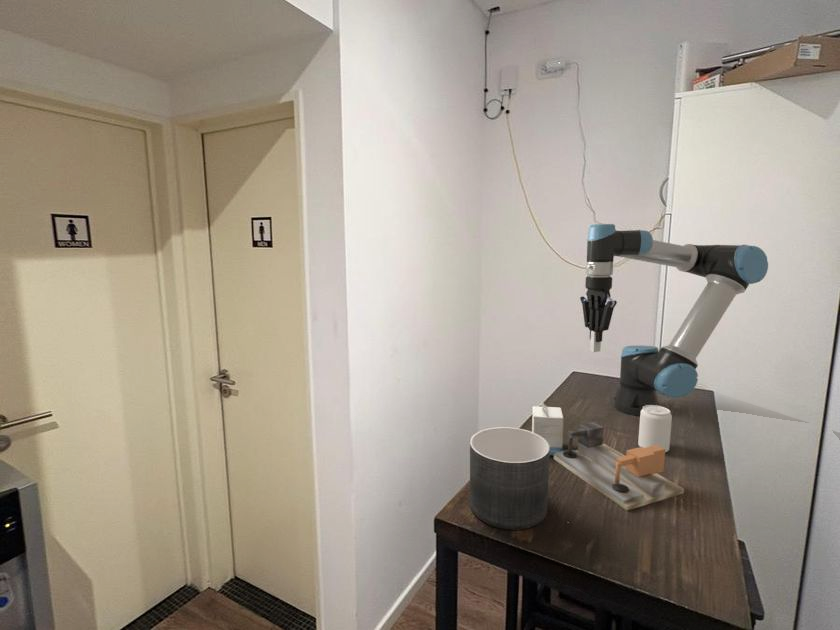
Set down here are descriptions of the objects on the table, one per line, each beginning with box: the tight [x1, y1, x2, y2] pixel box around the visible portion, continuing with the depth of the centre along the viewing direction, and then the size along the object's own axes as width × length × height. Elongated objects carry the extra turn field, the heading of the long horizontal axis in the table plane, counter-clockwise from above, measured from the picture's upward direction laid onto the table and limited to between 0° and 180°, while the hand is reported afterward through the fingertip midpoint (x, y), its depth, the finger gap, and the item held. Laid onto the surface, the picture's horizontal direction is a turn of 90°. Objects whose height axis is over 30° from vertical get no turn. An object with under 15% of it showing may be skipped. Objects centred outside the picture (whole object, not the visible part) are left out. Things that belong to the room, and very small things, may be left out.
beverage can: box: [637, 405, 673, 453], centre depth 129 cm, size 8×8×12 cm
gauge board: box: [553, 421, 685, 512], centre depth 115 cm, size 18×26×9 cm
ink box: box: [531, 401, 564, 457], centre depth 130 cm, size 9×8×13 cm
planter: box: [469, 426, 551, 531], centre depth 102 cm, size 18×18×16 cm
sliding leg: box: [615, 445, 666, 484], centre depth 109 cm, size 14×4×7 cm, turn 111°
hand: (595, 351), depth 139 cm, fingers closed
